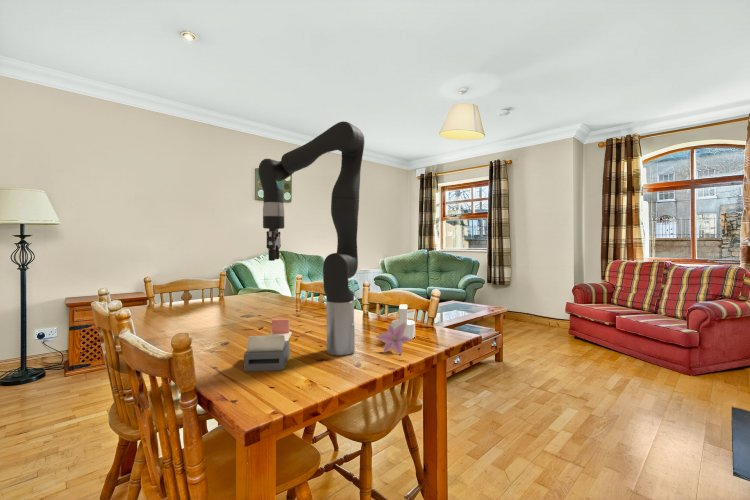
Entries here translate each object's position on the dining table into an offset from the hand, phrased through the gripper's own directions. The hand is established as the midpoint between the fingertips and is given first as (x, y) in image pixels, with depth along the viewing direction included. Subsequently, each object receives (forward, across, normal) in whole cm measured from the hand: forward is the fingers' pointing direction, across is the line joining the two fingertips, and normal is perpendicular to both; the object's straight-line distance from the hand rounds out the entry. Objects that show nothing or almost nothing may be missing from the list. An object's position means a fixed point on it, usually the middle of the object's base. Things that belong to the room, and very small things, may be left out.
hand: (274, 259), depth 129 cm
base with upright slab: (+30, 0, -48) cm, 57 cm away
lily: (+30, -15, -42) cm, 54 cm away
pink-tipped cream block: (+28, -8, -2) cm, 29 cm away
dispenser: (+30, -22, -2) cm, 37 cm away
